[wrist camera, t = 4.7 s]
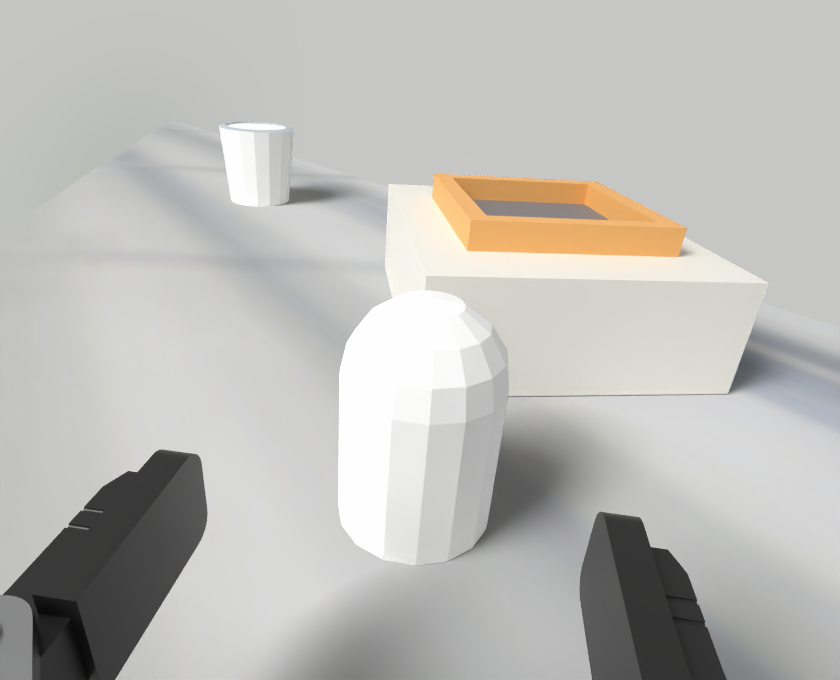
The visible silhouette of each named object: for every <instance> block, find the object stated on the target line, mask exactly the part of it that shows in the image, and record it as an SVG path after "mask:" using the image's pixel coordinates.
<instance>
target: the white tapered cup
mask: <svg viewBox="0 0 840 680" xmlns="http://www.w3.org/2000/svg"><path fill="white" fill-rule="evenodd" d="M219 129H220V135H221V141H222V147H223V153H224V159H225V165H226V171H227V177H228V183H229V189H230V195H231V200H232V202H235V203H237V204H241V205H246V206H257V207H264V206H277V205H282V204H285V203H287V202H288V201H289V194H290V178H291V163H292V146H293V130H294V129H293V128H291V127H287V126H283V125H279V124H272V123H261V122H234V123H225V124H221V125H219Z"/></svg>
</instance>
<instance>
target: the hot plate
mask: <svg viewBox="0 0 840 680" xmlns="http://www.w3.org/2000/svg"><path fill="white" fill-rule="evenodd" d="M686 229H687V228H685V227H683V226H681V225H679V224H678V223H676V222H673V221H672V220H670V219H668V218H666V217H664V216H662V215H660V214H658V213H656V212H654V211H652V210H650V209H648V208H647V207H645V206H642V205H641V204H639V203H637V202H635V201H633V200H631V199H629V198H627V197H625V196H623V195H621V194H619V193H617V192H615V191H614V190H611V189H609V188H608V187H606V186H604V185H602V184H600V183H598V182H590V181H569V180H550V179H530V178H510V177H489V176H470V175H450V174H449V175H448V174H434V179H433V186H420V185H398V184H389V191H388V212H387V232H386V253H385V269H386V273H387V277H388V281H389V285H390V290H391V294H392V298H395V297H397V296H400V295H402V294H405V293H407V292H412V291H418V290H432V291H440V292H445V293H448V294H451V295H454V296H456V297H458V298H460V299H462V300H463V301H465V302H466V303H468V304H469V305H471V306H473V307H474V308H476V309H477V310H479V311H480V312H482V313H484V314H485V315H486V317H487V318H488V319H489V320H490V322H491V323H492V324H493V326H494V328H495V330H496V331H497V333H498V335H499V337H500V338H501V340H502V342H503V344H504V345H505V347H506V349H507V351H508V367H509V396H586V395H676V394H728V392H729V390H730V387H731V384H732V382H733V379H734V376H735V373H736V371H737V368H738V365H739V363H740V360H741V357H742V355H743V352H744V349H745V346H746V344H747V341H748V338H749V336H750V333H751V330H752V327H753V325H754V322H755V319H756V317H757V314H758V311H759V308H760V306H761V303H762V300H763V298H764V295H765V292H766V290H767V287H768V284H769V283H767V282H765V281H763V280H762V279H760V278H758V277H756V276H754V275H753V274H751V273H749V272H747V271H745V270H743V269H741V268H740V267H738V266H736V265H734V264H732V263H731V262H729V261H727V260H725V259H723V258H721V257H719V256H718V255H716V254H714V253H712V252H710V251H708V250H707V249H705V248H703V247H701V246H699V245H697V244H696V243H694V242H692V241H690V240H688V239H686V238H685V237H684V236H685V233H686Z"/></svg>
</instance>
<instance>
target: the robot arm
mask: <svg viewBox="0 0 840 680" xmlns="http://www.w3.org/2000/svg"><path fill="white" fill-rule="evenodd" d="M206 522H207V504H206V496H205V488H204V480H203V472H202V464H201V460H200V457H199V456H198V455H196V454H190V453H183V452H176V451H169V450H158V451H157V452H155V453H154V454H153V455H152V456H151V457H150V459H149V460H148V461H147V462H146V463H145V464H144V466H143V467H142V468H141V469H140V470H139V471H138V472H130V471H128V472H126V473H124V474H123V475H121V476H120V477H118V478H116V479H115V480H113V481H111V482H110V483H108V484H107V485H105V486H103V487H102V488H101V489H100V490H99V491H98V492H97V494H96V495H95V496H94V497H93V498H92V499H91V500H90V501H89V502H88V503H87V504H86V505H85V507H84V510H83V511H80V512H79V513H78V514H77V515H76V516H75V517H74V518H73V520H72V521H71V522H70V523H69V526H68V528H64V529H63V530H62V532H61V533H60V534H59V535H58V536H57V537H56V538H55V539H54V540H53V541H52V542H51V543H50V545H49V546H48V547H47V548H46V549H45V550H44V551H43V552H42V553H41V554H40V555H39V556H38V558H37V559H36V560H35V561H34V562H33V563H32V564H31V565H30V566H29V567H28V568H27V569H26V571H25V572H24V573H23V574H22V575H21V576H20V577H19V578H18V579H17V580H16V581H15V583H14V584H13V585H12V586H11V587H10V588H9V589H8V590H7V591H6V592H5V593H4V594H3V595H1V596H0V680H115V679H116V677H117V676H118V674H119V672H120V671H121V669H122V667H123V666H124V664H125V663H126V661H127V659H128V658H129V656H130V654H131V653H132V651H133V650H134V648H135V646H136V645H137V643H138V642H139V640H140V638H141V637H142V635H143V633H144V632H145V630H146V629H147V627H148V625H149V624H150V622H151V620H152V619H153V617H154V616H155V614H156V612H157V611H158V609H159V607H160V606H161V604H162V603H163V601H164V599H165V598H166V596H167V594H168V593H169V591H170V590H171V588H172V586H173V585H174V583H175V581H176V580H177V578H178V577H179V575H180V573H181V572H182V570H183V568H184V567H185V565H186V564H187V562H188V560H189V559H190V557H191V555H192V554H193V552H194V551H195V549H196V547H197V546H198V544H199V542H200V541H201V538H202V536H203V533H204V530H205V527H206ZM580 601H581V608H582V615H583V622H584V628H585V635H586V641H587V648H588V655H589V661H590V668H591V674H592V680H726V678H725V675H724V672H723V669H722V667H721V664H720V661H719V658H718V656H717V653H716V650H715V648H714V645H713V642H712V639H711V637H710V634H709V631H708V628H707V627H705V620H704V618H703V615H702V612H701V609H700V607H699V605H697V598H696V596H695V593H694V590H693V588H692V585H691V582H690V579H689V577H688V574H687V573H686V571H685V570H684V569H683V568H682V566H681V565H680V564H679V563H678V562H677V560H676V559H675V558H674V557H673V555H672V554H671V553H670V552H669V551H668V550H666V549H659V548H652V547H650V544H649V541H648V538H647V534H646V531H645V528H644V525H643V522H642V520H641V519H640V518H639V517H633V516H626V515H619V514H612V513H605V512H599V513H598V514H597V516H596V519H595V522H594V526H593V529H592V533H591V537H590V540H589V544H588V547H587V551H586V555H585V558H584V562H583V565H582V570H581V577H580Z"/></svg>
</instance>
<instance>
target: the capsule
mask: <svg viewBox="0 0 840 680" xmlns="http://www.w3.org/2000/svg"><path fill="white" fill-rule="evenodd" d="M508 396H509V367H508V351H507V349H506V347H505V345H504V344H503V342H502V340H501V338H500V337H499V335H498V333H497V331H496V330H495V328H494V326H493V324H492V323H491V322H490V320H489V319H488V318H487V317H486V315H485V314H484V313H482V312H480V311H479V310H477V309H476V308H474V307H473V306H471V305H469V304H468V303H466V302H465V301H463V300H462V299H460V298H458V297H456V296H454V295H451V294H448V293H445V292H440V291H432V290H418V291H412V292H407V293H405V294H402V295H400V296H397V297H395V298H393V299H390V300H388V301H386V302H384V303H382V304H380V305H378V306H376V307H374V308H372V309H371V311H370V312H369V313H368V314H367V316H366V317H365V318H364V319H363V320H362V322H361V323H360V324H359V325H358V326H357V328H356V329H355V330H354V332H353V333H352V335H351V337H350V338H349V340H348V341H347V343H346V347H345V351H344V355H343V360H342V364H341V368H340V374H339V465H338V506H339V513H340V519H341V525H342V526H343V528H344V529H345V530H346V531H347V533H348V534H349V535H350V537H351V538H352V539H353V541H354V542H355V543H356V544H357V545H358V546H360V547H361V548H363V549H365V550H367V551H368V552H370V553H372V554H374V555H376V556H377V557H379V558H381V559H383V560H387V561H392V562H398V563H403V564H409V565H414V566H418V565H425V564H433V563H440V562H448V561H449V560H451V559H453V558H455V557H457V556H459V555H461V554H462V553H464V552H466V551H468V550H470V549H472V548H473V547H474V545H475V544H476V543H477V541H478V540H479V538H480V537H481V536H482V534H483V533H484V532H485V530H486V528H487V522H488V516H489V510H490V504H491V498H492V492H493V486H494V480H495V474H496V468H497V462H498V456H499V450H500V444H501V438H502V432H503V426H504V420H505V415H506V409H507V403H508Z"/></svg>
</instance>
